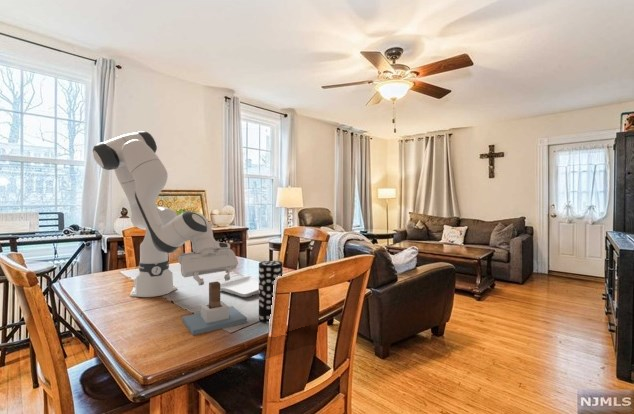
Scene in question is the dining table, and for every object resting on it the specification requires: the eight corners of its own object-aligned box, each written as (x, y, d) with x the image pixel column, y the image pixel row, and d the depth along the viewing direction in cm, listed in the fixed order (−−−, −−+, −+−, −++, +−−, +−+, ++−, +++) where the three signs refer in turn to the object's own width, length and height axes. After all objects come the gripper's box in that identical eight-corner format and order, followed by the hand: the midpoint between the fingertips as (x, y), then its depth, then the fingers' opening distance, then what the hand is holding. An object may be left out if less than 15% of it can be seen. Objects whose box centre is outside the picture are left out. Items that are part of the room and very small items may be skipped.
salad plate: (244, 301, 130) (244, 293, 129) (214, 292, 142) (214, 284, 142) (279, 289, 146) (279, 282, 146) (249, 282, 159) (249, 275, 159)
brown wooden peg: (209, 316, 108) (208, 282, 108) (217, 315, 110) (217, 281, 109) (211, 319, 105) (211, 284, 105) (220, 317, 107) (220, 283, 107)
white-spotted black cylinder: (261, 314, 114) (261, 260, 114) (283, 314, 114) (284, 260, 114) (256, 323, 106) (256, 265, 106) (280, 323, 106) (280, 265, 105)
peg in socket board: (182, 320, 108) (182, 305, 108) (232, 310, 119) (232, 295, 118) (192, 335, 97) (192, 317, 97) (247, 322, 107) (247, 306, 107)
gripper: (178, 249, 110) (186, 282, 103) (233, 243, 122) (243, 272, 115) (175, 259, 114) (182, 292, 107) (229, 252, 126) (239, 281, 119)
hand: (215, 282), depth 111 cm, fingers open, 8 cm apart
